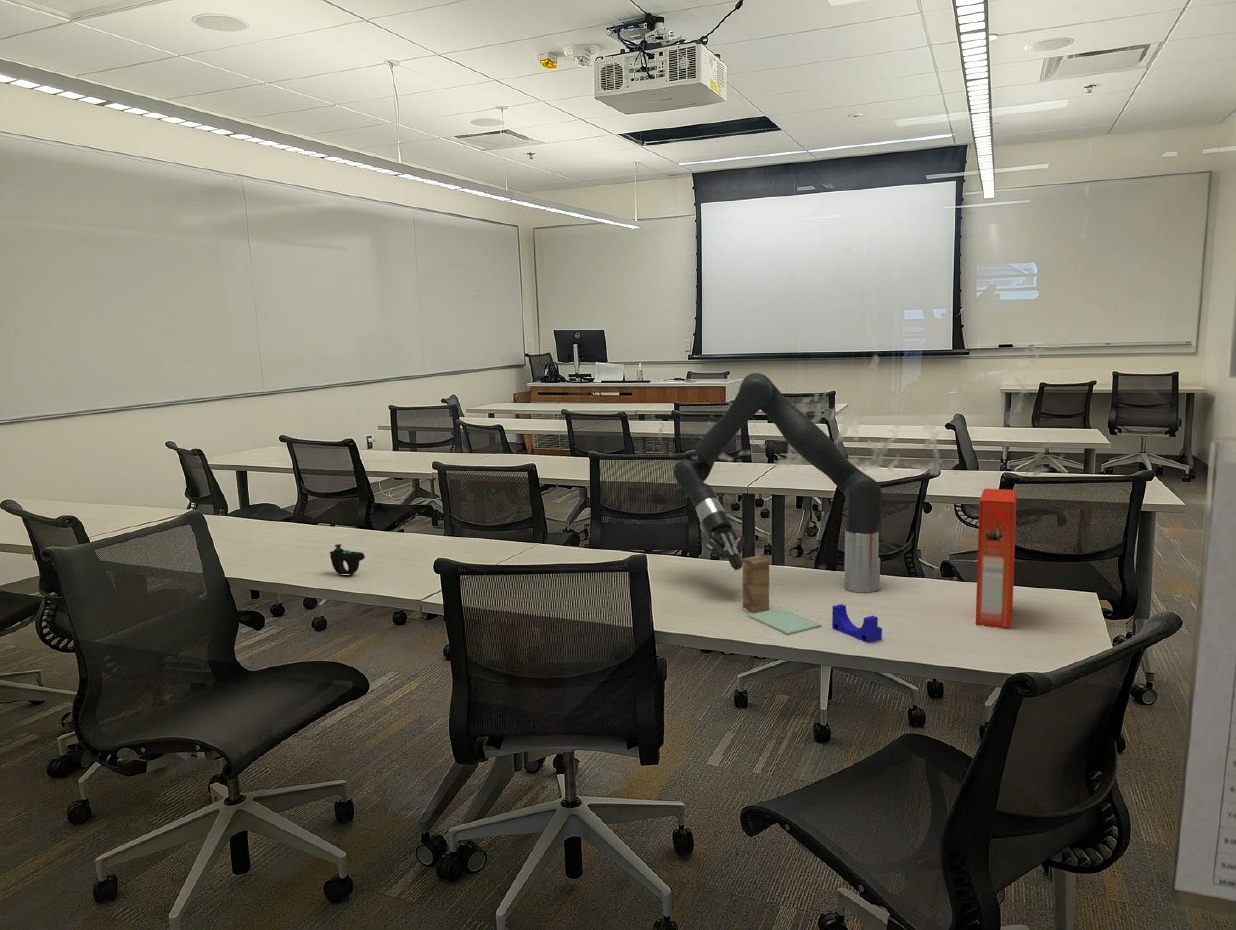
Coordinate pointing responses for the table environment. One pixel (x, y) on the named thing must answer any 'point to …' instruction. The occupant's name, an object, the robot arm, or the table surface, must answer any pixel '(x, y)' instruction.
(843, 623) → the blue cradle block
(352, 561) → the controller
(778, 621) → the sage mat
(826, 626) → the table surface
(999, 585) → the file binder
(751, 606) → the walnut block
